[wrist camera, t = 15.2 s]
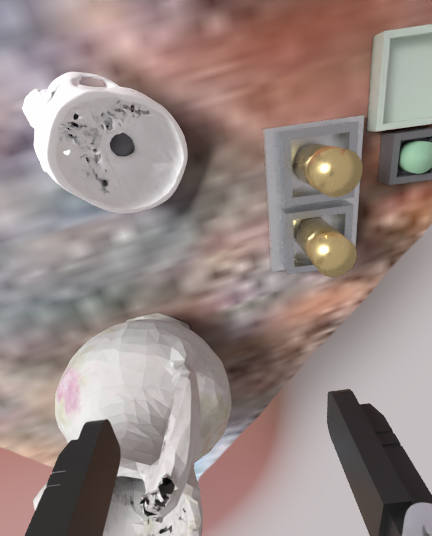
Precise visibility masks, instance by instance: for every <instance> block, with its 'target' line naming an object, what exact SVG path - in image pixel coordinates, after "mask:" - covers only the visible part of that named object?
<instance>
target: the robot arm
mask: <svg viewBox="0 0 432 536" xmlns="http://www.w3.org/2000/svg"><path fill="white" fill-rule="evenodd" d="M327 424H328V429H329V433H330V436H331V439H332V442H333V444H334V447H335V449H336V451H337V454H338V457H339V459H340V462H341V464H342V467H343V469H344V472H345V474H346V477H347V479H348V482H349V484H350V487H351V489H352V492H353V494H354V497H355V499H356V502H357V504H358V507H359V509H360V512H361V515H362V517H363V519H364V522H365V525H366V527H367V529H368V532H369V535H370V536H432V495H431V493H430V492H429V490H428V488H427V487H426V485H425V483H424V482H423V480H422V479H421V477H420V475H419V473H418V472H417V470H416V469H415V467H414V465H413V464H412V462H411V460H410V459H409V457H408V455H407V454H406V452H405V450H404V449H403V447H402V446H401V445H400V442H399V440H398V439H397V437H396V435H395V434H394V433H393V431H392V429H391V427H390V426H389V424H388V422H387V421H386V419H385V417H384V416H383V415H382V414H381V413H380V412H379V411H378V410H377V409H375V408H374V407H373V406H372V405H371V404H361V405H360V404H359V403H358V401H357V399H356V397H355V395H354V394H353V392H352V391H351V390H350V389H346V390H339V391H331V392H328V408H327ZM120 459H121V450H120V445H119V443H118V440H117V438H116V435H115V433H114V430H113V428H112V426H111V423H110V421H109V420H108V419H104V420H97V421H89V422H86V423H85V424H84V426H83V428H82V430H81V433H80V436H79V438H78V439H76V440H71V441H70V442H69V443H68V444H67V446H66V447H65V448H64V450H63V451H62V452H61V453H60V455H59V457H58V459H57V461H56V464H55V466H54V468H53V471H52V475H50V478H49V480H48V482H47V485H46V489H44V492H43V494H42V496H41V499H40V501H39V503H38V506H37V508H36V510H35V513H34V515H33V517H32V520H31V522H30V524H29V527H28V529H27V532H26V534H25V536H103V532H104V527H105V523H106V519H107V515H108V511H109V507H110V503H111V498H112V494H113V490H114V486H115V482H116V478H117V474H118V469H119V465H120Z"/></svg>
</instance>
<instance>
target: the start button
mask: <svg viewBox="0 0 432 536" xmlns="http://www.w3.org/2000/svg"><path fill="white" fill-rule="evenodd" d="M398 168H399V169H401V170H403V171H407V172H411V173H416V174H421V173H424V172H426V171H428V170H429V169H430V168H432V143H431V142H425V141H409V142H407V143H405V144H404V145H403V146H401V148H400V152H399V161H398Z"/></svg>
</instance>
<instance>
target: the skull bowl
mask: <svg viewBox="0 0 432 536" xmlns="http://www.w3.org/2000/svg"><path fill="white" fill-rule="evenodd" d="M82 78H93V79H100V80H102V81H103V82H104V83H105V86H106V87H90V86H84V85H80V84H79V81H80V80H81V79H82ZM131 105H133V106H134V108H132V107H131ZM22 109H23V110H24V111H23V112H24V114H25V115H26V117H27V120H28V121H29V122H30V125H31V126H32V127H33V128H35V138H34V148H35V152H36V154H37V156H38V159H39V160H40V163H41V166H42V169H43V171H44V172H47V173H48V174H49V175H50V176H51V177H52V178H53V179H54V180H55V181H56V182H57V183H58V184H59V185H60V186H61V187H63V188H64V189H65V190H67V191H68V192H70V193H72V194H74V195H76V196H78V197H80V198H81V199H83V200H85V201H87V202H89V203H90V204H92V205H95V206H97V207H99V208H102V209H104V210H107V211H110V212H114V213H124V214H127V213H136V212H141V211H144V210H148V209H151V208H154V207H156V206H158V205H160V204H162V203H164V202H165V201H166V200H168V199H169V198H170V197H171V196H172V195H173V193H174V192H175V191H176V189H177V187H178V185H179V183H180V181H181V179H182V176H183V174H184V171H185V167H186V164H187V158H188V157H187V156H188V151H187V144H186V141H185V137H184V134H183V132H182V130H181V129H180V127H179V125H178V124H177V122H176V121H175V119H174V118H173V117H172V115H171V114H170V113H169V112H168V111H167V110H166V109H165V108H164V107H163V106H162V105H160V104H158V103H157V102H155V101H154V100H152V99H151V98H149V97H147V96H146V95H144V94H142V93H140V92H138V91H136V90H133V89H131V88H125V87H120V86H118V85H117V84H115V83H114V82H112V81H111V80H109V79H107V78H105V77H101V76H98V75H94V74H89V73H80V72H68V73H65V74H63V75H61V76H60V77H58V78H56V79H55V80H54V81H53V82H52V83H51V84H50V86H49V88H48V89H43V90H41V91H40V90H39V89H34V90H33V91H32V92H30V93H29V95H27V96H26V98H25V102H24V107H22ZM130 109H131V110H134V112H131V110H130ZM75 113H76V114H77V115H78V119H77V120H74V119H73V116H74V114H75ZM101 114H103V115H102V116H101ZM71 122H74V123H76V124H78V127H80V126H81V125H80V126H79V124H82V125H83V127H81V128H78V127H75V126H73V127H74V128H73V127H69V126H72V125H71ZM84 125H86V126H87V127H84ZM101 125H102V126H103V127H102V126H101ZM106 125H108V126H109V127H108V128H106ZM67 127H68V128H69V129H71V130H69V129H67ZM120 133H125V134H127V135H128V136H129V137H130V138H131V139H132V140H133V143H134V146H135V149H134V152H133V153H132V154H130V155H128V156H123V157H122V156H117V155H116V154H115V153H114V152H113V151H112V150H111V148H110V142H111V139H112V138H113V137H114V136H115V135H117V134H120ZM69 134H72V135H73V137H75V136H77V137H76V138H73V137H72V136H70V135H69ZM94 149H97V150H94ZM86 157H87V158H88V159H89V161H88V162H87V160H86ZM101 190H102V191H101Z"/></svg>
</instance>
